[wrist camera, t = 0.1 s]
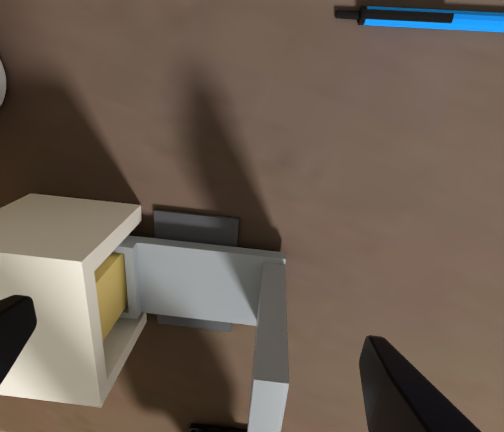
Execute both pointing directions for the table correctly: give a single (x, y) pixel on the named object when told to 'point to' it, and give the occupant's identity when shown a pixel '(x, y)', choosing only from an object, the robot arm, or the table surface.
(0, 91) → the pill bottle
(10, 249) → the tunnel
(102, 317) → the block
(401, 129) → the table surface
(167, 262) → the bracket
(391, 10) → the pen
